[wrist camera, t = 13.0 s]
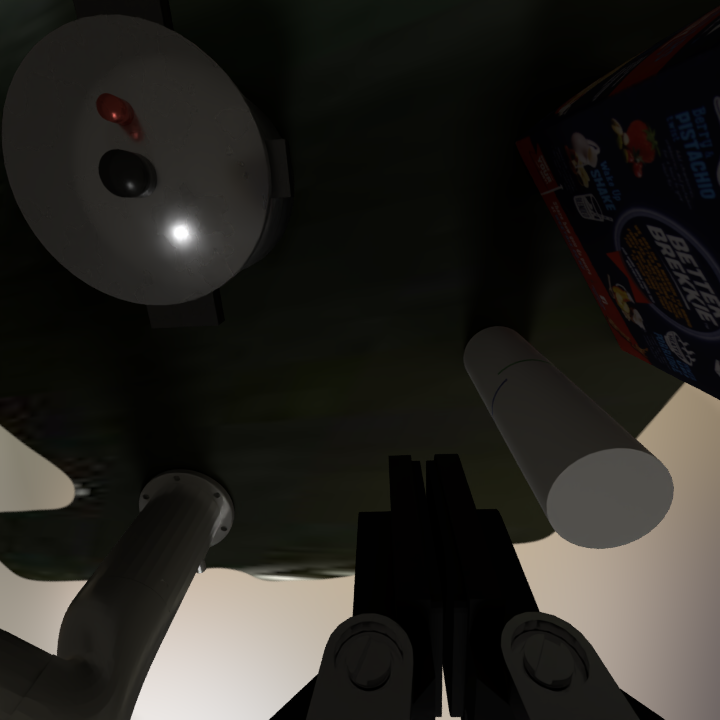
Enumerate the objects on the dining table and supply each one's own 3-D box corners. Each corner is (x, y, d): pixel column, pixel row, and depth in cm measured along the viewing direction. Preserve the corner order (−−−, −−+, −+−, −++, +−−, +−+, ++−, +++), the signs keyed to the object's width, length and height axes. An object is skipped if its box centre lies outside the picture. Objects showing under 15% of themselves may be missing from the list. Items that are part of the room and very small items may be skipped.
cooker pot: (320, 295, 46) (302, 324, 35) (148, 304, 47) (77, 335, 36) (296, 33, 38) (262, -40, 27) (88, 51, 39) (-29, -11, 28)
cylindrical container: (451, 367, 48) (521, 518, 25) (487, 314, 46) (601, 427, 23) (502, 394, 49) (616, 565, 26) (539, 344, 47) (701, 482, 24)
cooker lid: (285, 295, 34) (277, 304, 31) (60, 307, 35) (31, 317, 32) (251, 10, 28) (236, -14, 25) (-25, 34, 28) (-72, 13, 25)
